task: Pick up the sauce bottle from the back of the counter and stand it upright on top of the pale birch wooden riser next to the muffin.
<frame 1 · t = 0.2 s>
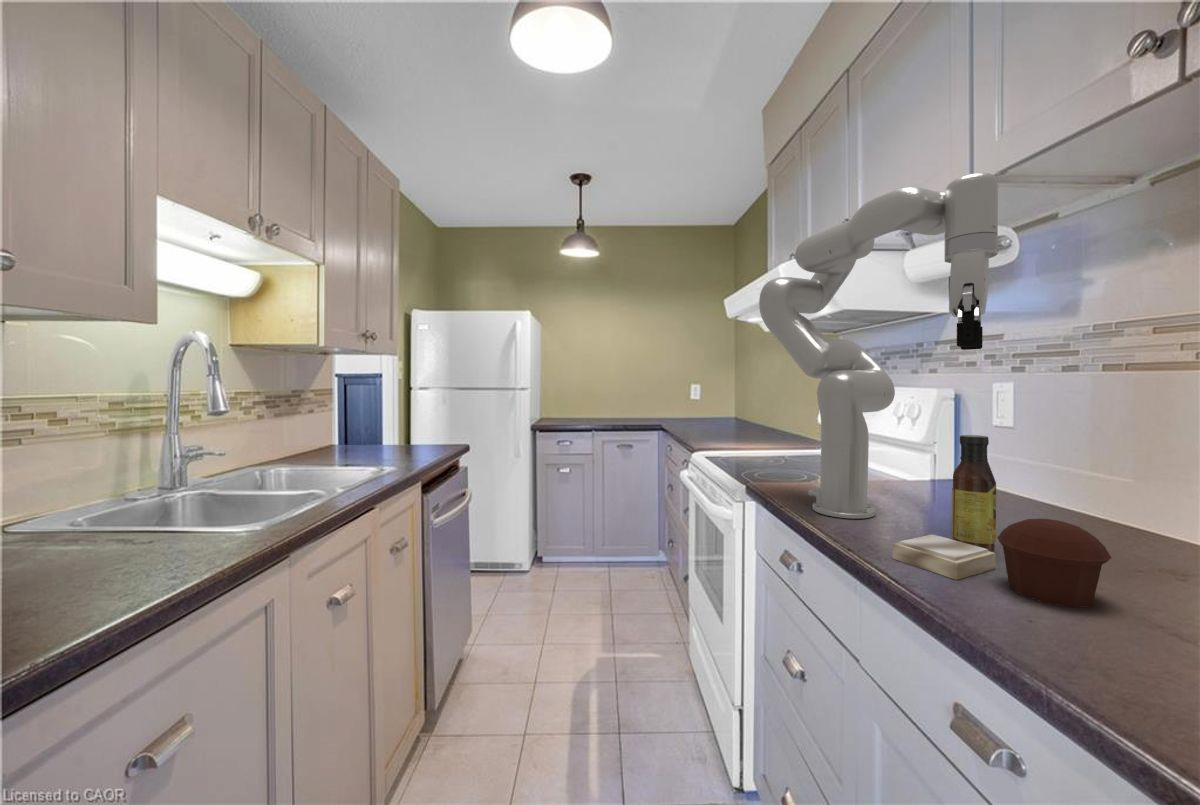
hand: (969, 347, 89), 35 cm above the table, tool pointing down, fingers open, 9 cm apart
sauce bottle: (972, 550, 89), on the table
birch riser: (942, 563, 82), on the table
muffin: (1049, 594, 71), on the table
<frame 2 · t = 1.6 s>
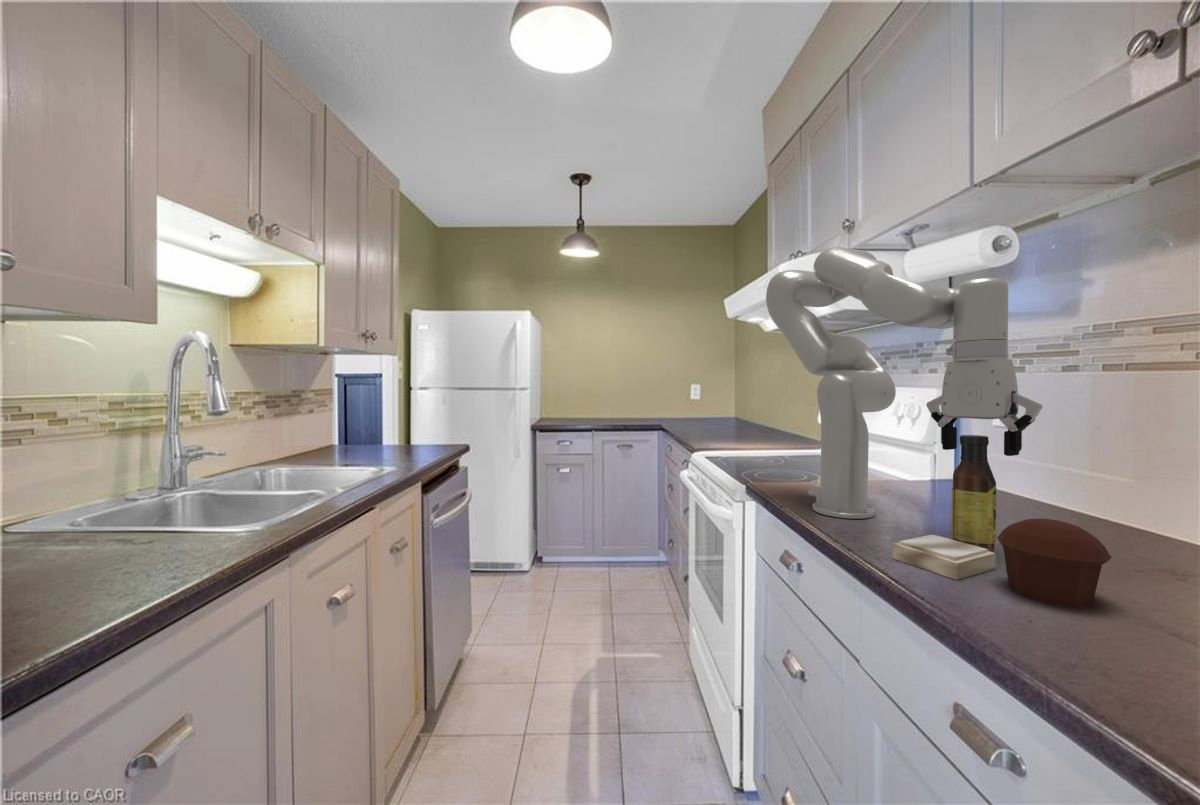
hand: (979, 452, 88), 17 cm above the table, tool pointing down, fingers open, 9 cm apart
nothing on the table moved.
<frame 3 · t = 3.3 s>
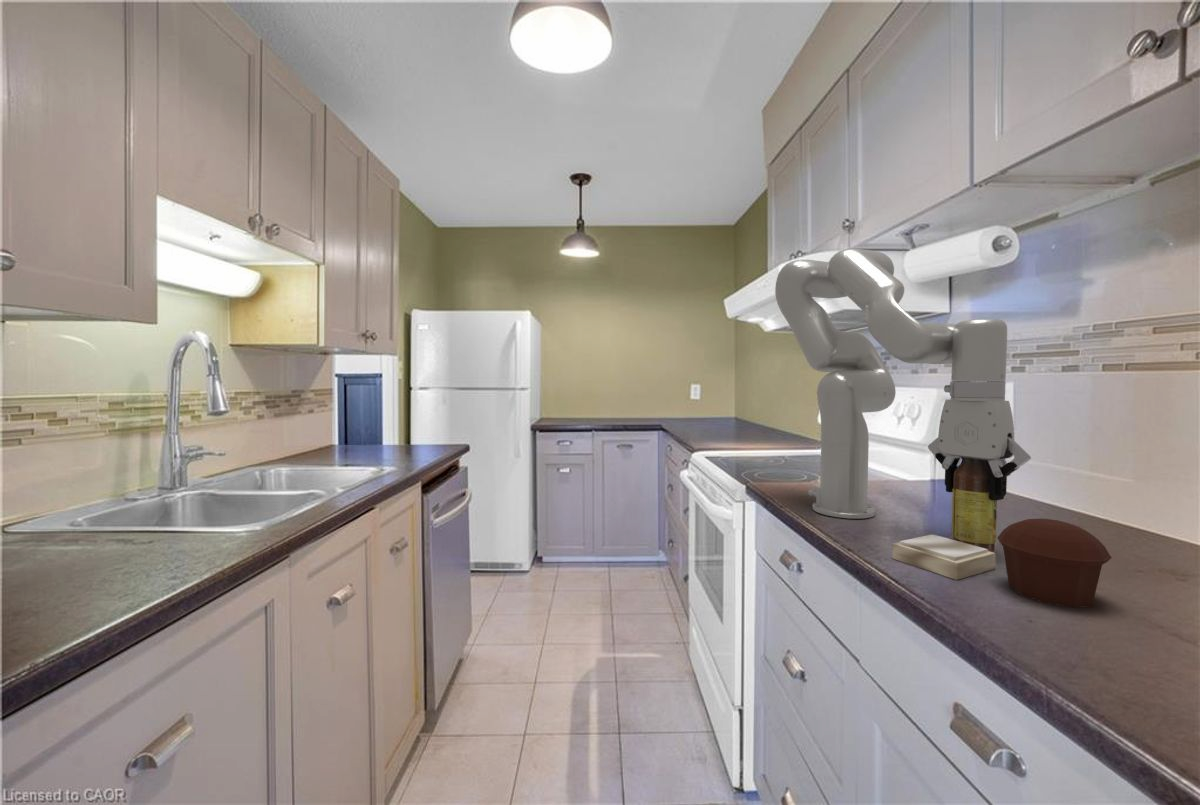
hand: (974, 494, 88), 10 cm above the table, tool pointing down, fingers closed on sauce bottle, 6 cm apart
sauce bottle: (972, 549, 89), on the table, touching gripper
everything else where it was.
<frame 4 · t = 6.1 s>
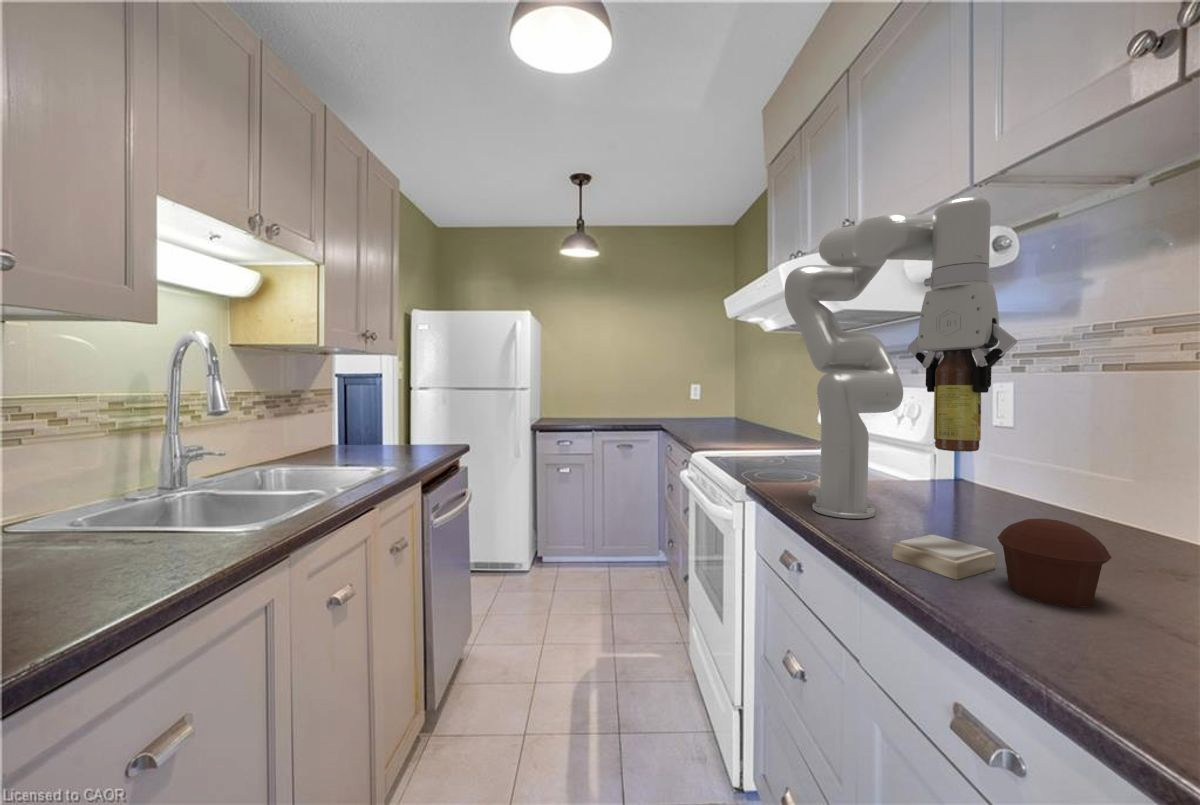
hand: (956, 391, 82), 28 cm above the table, tool pointing down, fingers closed on sauce bottle, 6 cm apart
sauce bottle: (955, 451, 83), point 18 cm above the table, touching gripper
everything else where it was.
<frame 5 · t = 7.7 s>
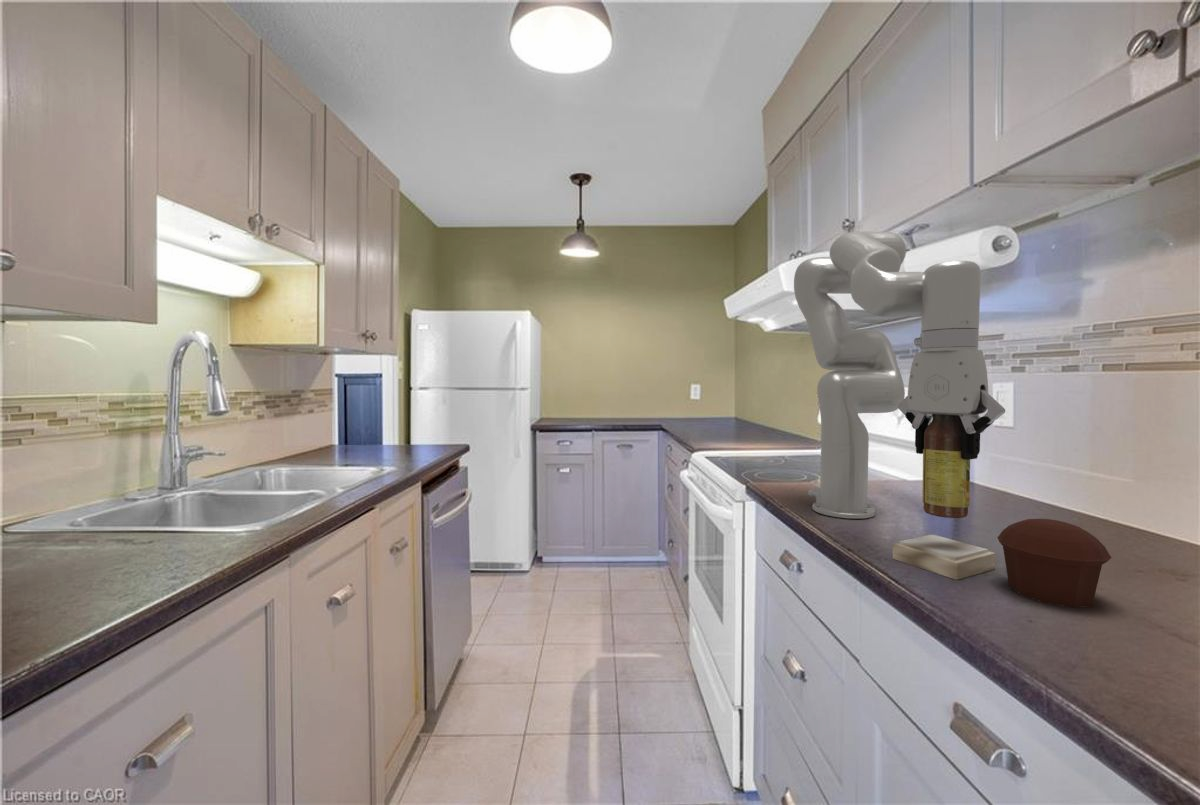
hand: (945, 454, 81), 18 cm above the table, tool pointing down, fingers closed on sauce bottle, 6 cm apart
sauce bottle: (944, 515, 81), point 8 cm above the table, touching gripper
everything else where it was.
when the fingers open (14 cm above the table, at t = 8.9 s): sauce bottle drops 1 cm, resting on birch riser.
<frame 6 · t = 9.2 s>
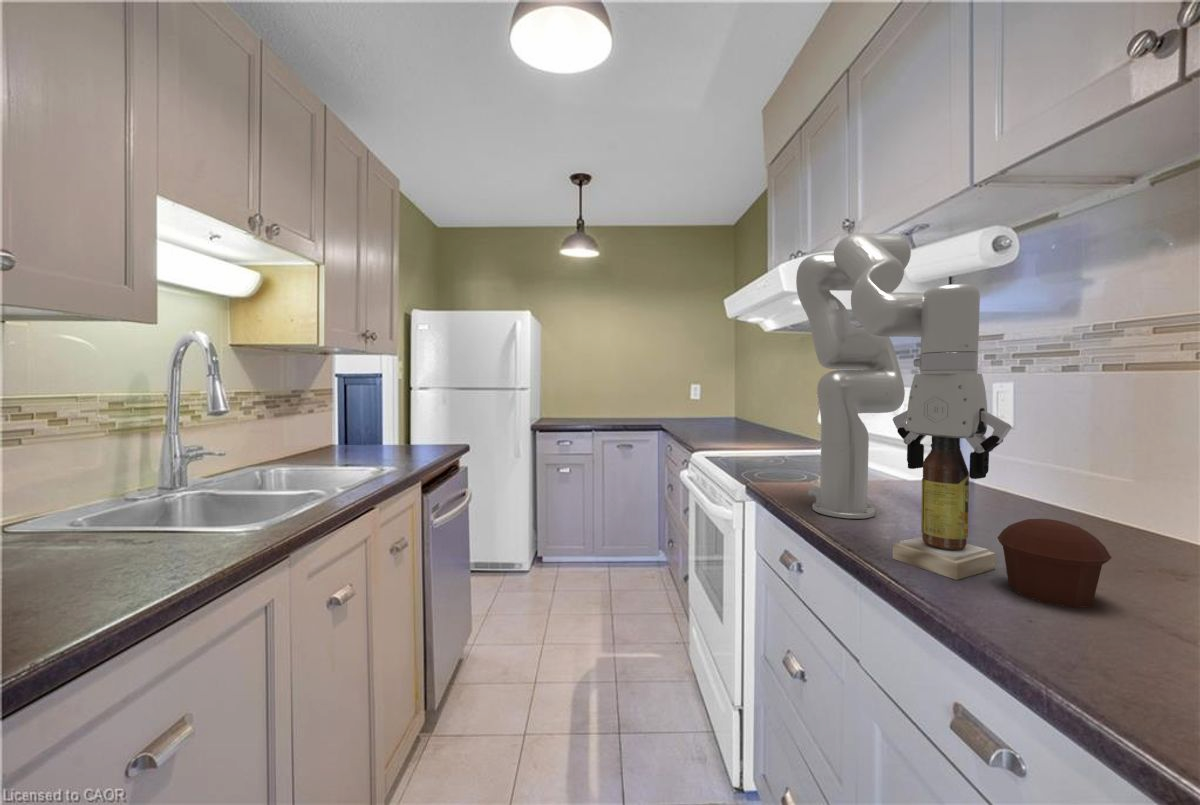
hand: (945, 472, 81), 15 cm above the table, tool pointing down, fingers open, 9 cm apart
sauce bottle: (942, 545, 82), point 3 cm above the table, touching birch riser
everything else where it was.
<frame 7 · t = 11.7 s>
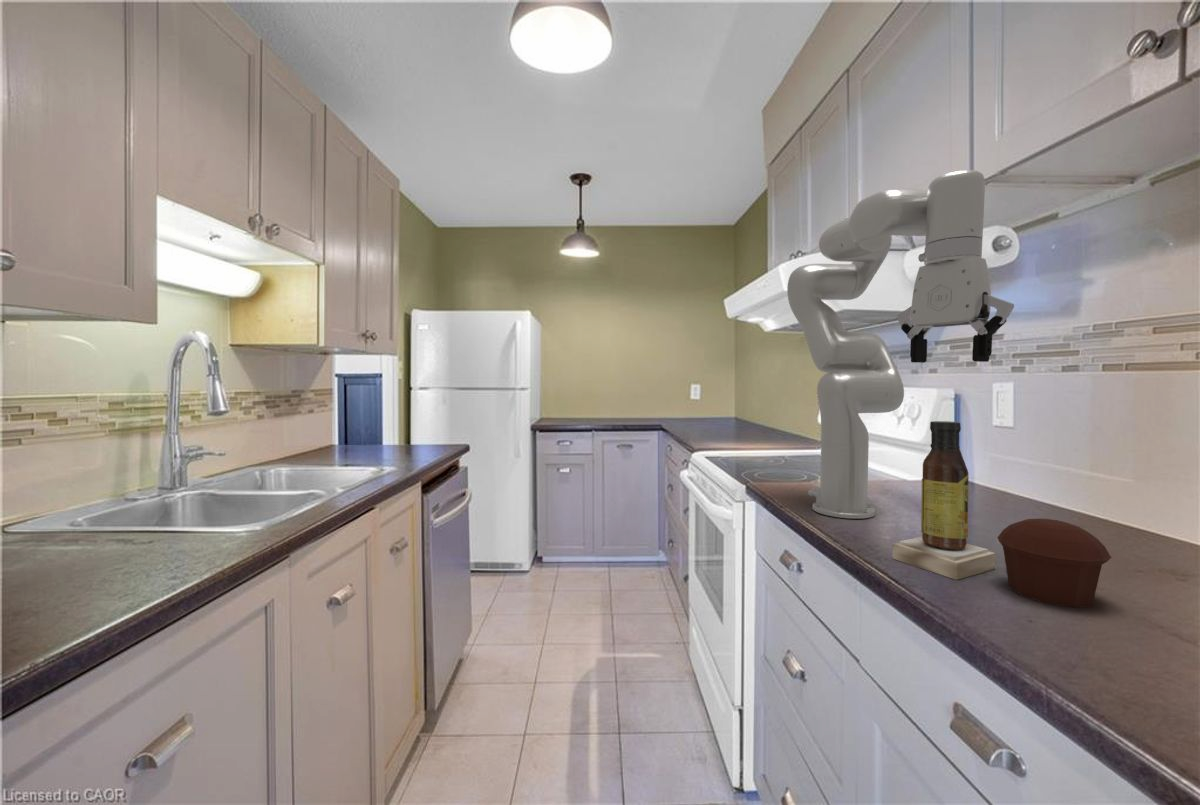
hand: (948, 361, 82), 32 cm above the table, tool pointing down, fingers open, 9 cm apart
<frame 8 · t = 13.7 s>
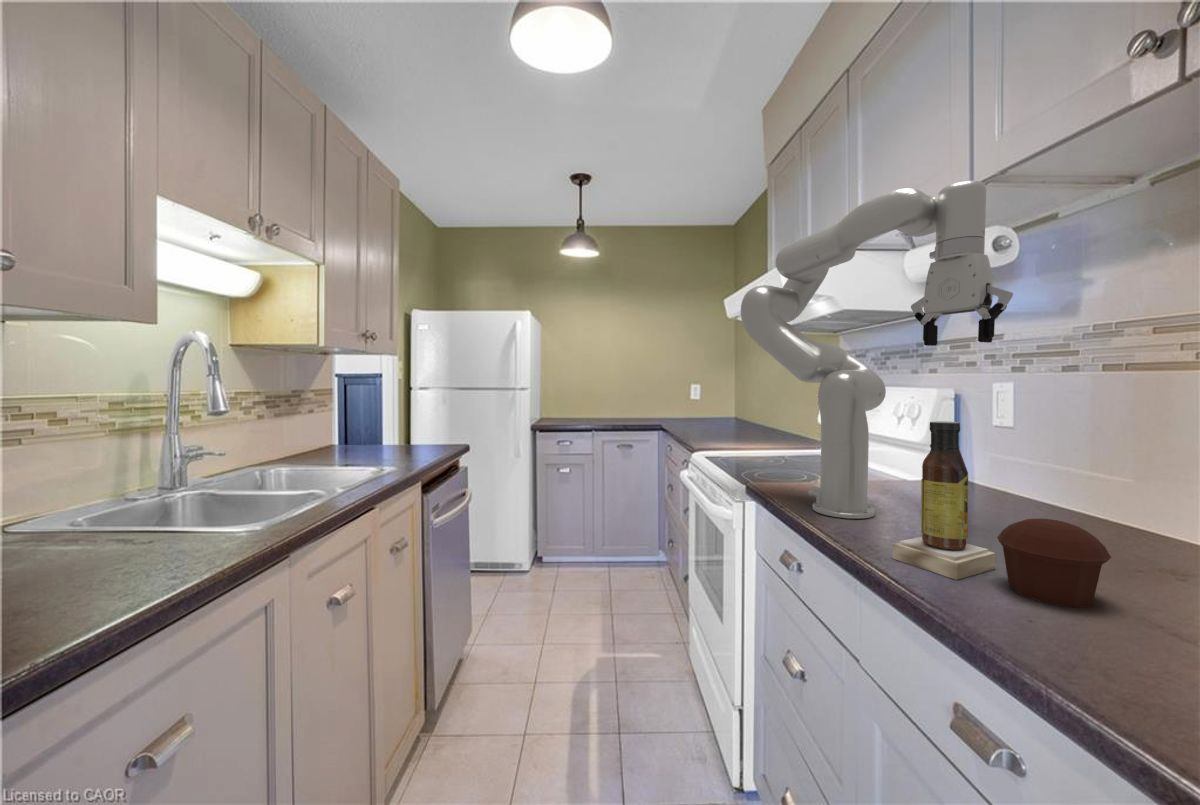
hand: (956, 343, 96), 36 cm above the table, tool pointing down, fingers open, 9 cm apart
nothing on the table moved.
at the end: sauce bottle inside the target area on the birch riser (0.1 cm from its centre), point 2.8 cm above the birch riser's base; sauce bottle tilted 0°; the gripper is holding nothing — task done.
